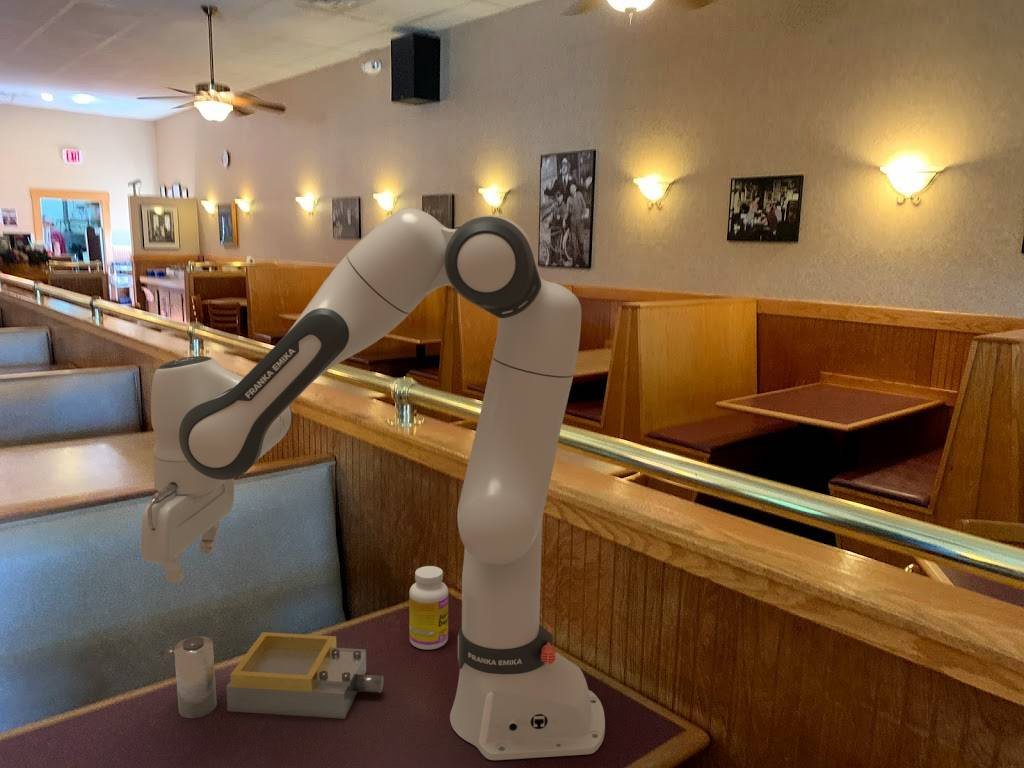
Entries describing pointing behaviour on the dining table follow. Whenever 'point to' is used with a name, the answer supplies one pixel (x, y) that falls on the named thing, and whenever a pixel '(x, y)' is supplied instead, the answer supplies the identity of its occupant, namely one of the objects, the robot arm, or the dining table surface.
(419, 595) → the supplement bottle
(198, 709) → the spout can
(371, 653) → the dining table surface
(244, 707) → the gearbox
